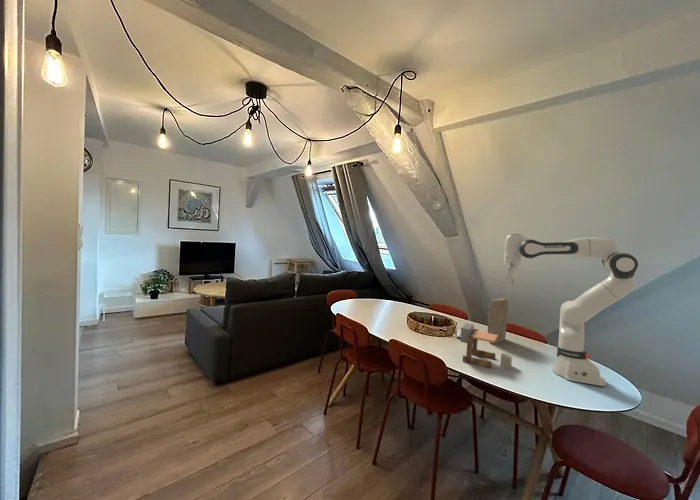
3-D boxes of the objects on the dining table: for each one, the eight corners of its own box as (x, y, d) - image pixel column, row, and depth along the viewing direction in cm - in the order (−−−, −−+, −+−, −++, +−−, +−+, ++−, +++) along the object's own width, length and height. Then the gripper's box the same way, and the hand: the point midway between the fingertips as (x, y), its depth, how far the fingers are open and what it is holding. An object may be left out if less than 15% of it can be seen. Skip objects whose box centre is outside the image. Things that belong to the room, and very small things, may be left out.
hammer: (460, 341, 176) (461, 328, 176) (465, 336, 188) (466, 323, 188) (493, 349, 167) (494, 334, 166) (497, 342, 178) (498, 328, 178)
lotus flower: (453, 341, 209) (453, 328, 209) (452, 335, 223) (453, 323, 223) (475, 344, 205) (476, 331, 204) (473, 338, 219) (474, 326, 219)
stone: (511, 366, 171) (512, 355, 170) (510, 369, 166) (511, 358, 166) (501, 363, 173) (502, 353, 173) (500, 366, 169) (501, 355, 169)
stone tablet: (494, 346, 203) (497, 301, 202) (482, 342, 209) (485, 298, 208) (507, 340, 216) (510, 298, 215) (495, 337, 222) (498, 296, 221)
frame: (462, 361, 173) (464, 334, 173) (469, 352, 189) (470, 328, 188) (490, 368, 166) (492, 340, 165) (495, 358, 181) (497, 333, 180)
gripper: (516, 263, 169) (515, 288, 169) (519, 261, 186) (518, 284, 186) (503, 262, 172) (502, 286, 172) (507, 261, 189) (506, 283, 190)
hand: (510, 285), depth 180 cm, fingers open, 8 cm apart
